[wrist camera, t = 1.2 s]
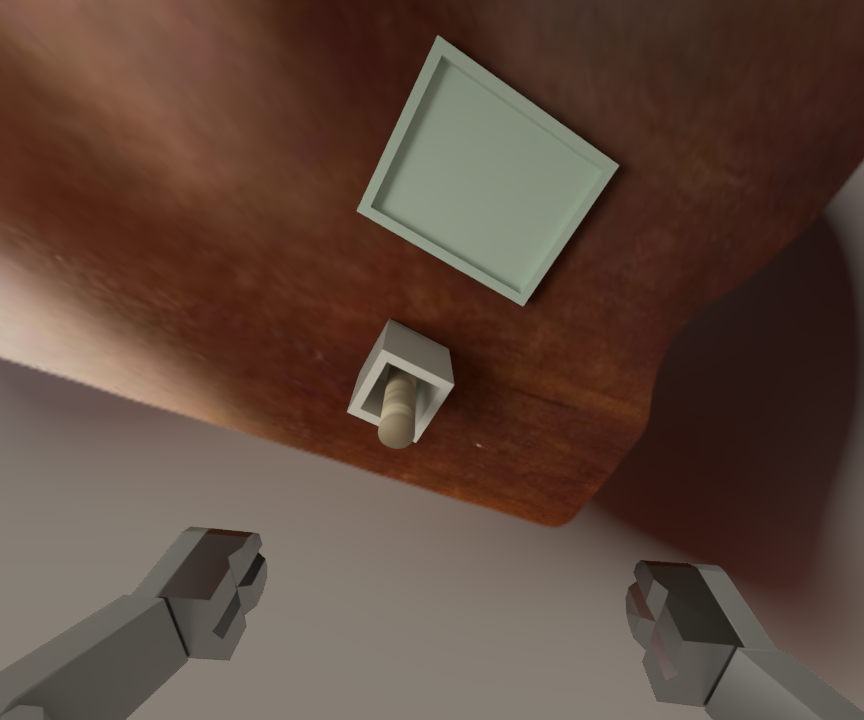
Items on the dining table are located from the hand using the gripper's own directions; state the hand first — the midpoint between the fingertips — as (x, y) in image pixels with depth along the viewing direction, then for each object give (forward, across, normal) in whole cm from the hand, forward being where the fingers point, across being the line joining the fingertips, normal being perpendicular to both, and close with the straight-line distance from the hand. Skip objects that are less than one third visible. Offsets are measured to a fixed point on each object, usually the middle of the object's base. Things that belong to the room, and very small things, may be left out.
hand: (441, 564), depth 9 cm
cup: (+38, +6, +12) cm, 40 cm away
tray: (+38, -2, -7) cm, 39 cm away
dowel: (+37, +6, +12) cm, 39 cm away
